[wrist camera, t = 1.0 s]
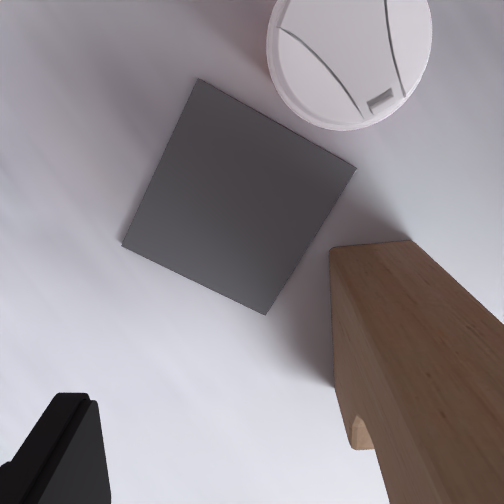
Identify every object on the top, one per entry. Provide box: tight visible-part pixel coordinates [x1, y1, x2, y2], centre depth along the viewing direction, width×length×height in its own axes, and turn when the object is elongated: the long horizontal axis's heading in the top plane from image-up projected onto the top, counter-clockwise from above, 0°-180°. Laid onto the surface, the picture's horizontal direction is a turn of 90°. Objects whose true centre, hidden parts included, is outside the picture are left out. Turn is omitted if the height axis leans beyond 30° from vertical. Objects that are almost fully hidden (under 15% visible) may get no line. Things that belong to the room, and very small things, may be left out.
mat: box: [121, 79, 357, 315], centre depth 35 cm, size 14×15×1 cm
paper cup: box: [266, 0, 432, 131], centre depth 25 cm, size 8×8×14 cm
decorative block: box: [329, 240, 504, 504], centre depth 25 cm, size 15×8×30 cm, turn 6°
